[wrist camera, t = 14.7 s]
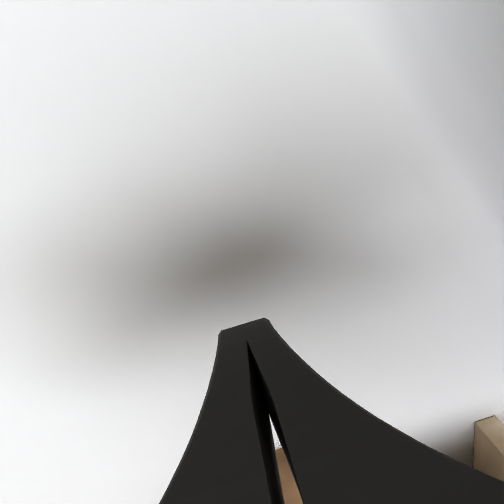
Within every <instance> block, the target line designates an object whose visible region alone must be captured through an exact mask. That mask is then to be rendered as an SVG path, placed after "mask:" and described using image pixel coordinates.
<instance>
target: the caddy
mask: <svg viewBox="0 0 504 504" xmlns="http://www.w3.org/2000/svg"><path fill="white" fill-rule="evenodd" d="M275 452H276V458H277V463H278V469H279V475H280V481H281V486H282V492H283V497H284V502H285V504H303V502H302V499H301V496H300V493H299V490H298V488H297V485H296V482H295V480H294V477H293V475H292V472H291V469H290V467H289V464H288V462H287V459H286V456H285V454H284V451H283V449H282V448H280V449H277V450H275Z"/></svg>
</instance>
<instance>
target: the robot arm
mask: <svg viewBox="0 0 504 504" xmlns="http://www.w3.org/2000/svg"><path fill="white" fill-rule="evenodd" d="M269 415H270V417H271V420H272V423H273V425H274V428H275V430H276V433H277V436H278V438H279V441H280V443H281V446H282V449H283V451H284V454H285V456H286V459H287V462H288V464H289V467H290V469H291V472H292V475H293V477H294V480H295V482H296V485H297V488H298V490H299V493H300V496H301V499H302V502H303V504H504V482H503V481H501V480H499V479H496V478H494V477H492V476H490V475H487V474H485V473H483V472H480V471H478V470H476V469H474V468H471V467H469V466H467V465H465V464H463V463H461V462H459V461H456V460H454V459H452V458H450V457H448V456H446V455H444V454H442V453H440V452H438V451H436V450H434V449H432V448H430V447H428V446H426V445H425V444H423V443H421V442H419V441H417V440H415V439H413V438H412V437H410V436H408V435H406V434H405V433H403V432H401V431H400V430H398V429H396V428H394V427H393V426H391V425H389V424H388V423H386V422H384V421H382V420H381V419H379V418H377V417H376V416H374V415H373V414H371V413H370V412H368V411H367V410H365V409H364V408H362V407H361V406H359V405H358V404H356V403H355V402H354V401H352V400H351V399H349V398H348V397H347V396H345V395H344V394H342V393H341V392H340V391H339V390H337V389H336V388H335V387H333V386H332V385H331V384H330V383H328V382H327V381H326V380H325V379H324V378H322V377H321V376H320V375H319V374H318V373H317V372H315V371H314V370H313V369H312V368H311V367H310V366H309V365H308V364H307V363H306V362H305V361H304V360H302V359H301V358H300V357H299V356H298V355H297V354H296V353H295V352H294V351H293V350H292V349H291V348H290V347H289V345H288V344H287V343H286V342H285V341H284V340H283V339H282V338H281V336H280V335H279V334H278V333H277V331H276V330H275V329H274V327H273V326H272V325H271V323H270V321H269V320H268V319H266V318H261V319H258V320H255V321H252V322H248V323H245V324H242V325H238V326H235V327H232V328H228V329H225V330H222V331H221V332H220V334H219V335H218V346H217V352H216V358H215V362H214V367H213V371H212V375H211V379H210V382H209V386H208V390H207V393H206V396H205V399H204V402H203V405H202V408H201V411H200V414H199V417H198V420H197V423H196V426H195V428H194V431H193V433H192V436H191V438H190V441H189V443H188V445H187V448H186V450H185V452H184V455H183V457H182V459H181V461H180V463H179V465H178V467H177V469H176V471H175V473H174V476H173V478H172V480H171V482H170V484H169V486H168V488H167V490H166V492H165V493H164V495H163V497H162V499H161V501H160V503H159V504H285V502H284V497H283V492H282V486H281V481H280V475H279V469H278V463H277V458H276V452H275V446H274V440H273V435H272V429H271V423H270V418H269Z"/></svg>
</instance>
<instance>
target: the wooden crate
mask: <svg viewBox="0 0 504 504" xmlns="http://www.w3.org/2000/svg"><path fill="white" fill-rule="evenodd" d="M473 468H474V469H476V470H478V471H480V472H483V473H485V474H487V475H490V476H492V477H494V478H496V479H499V480H501V481H503V482H504V424H503V423H502V422H501V421H500V420H499V419H498V418H497V417H496V416H493V417H490V418H487V419H484V420H481V421H478V422H475V436H474V457H473Z"/></svg>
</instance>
